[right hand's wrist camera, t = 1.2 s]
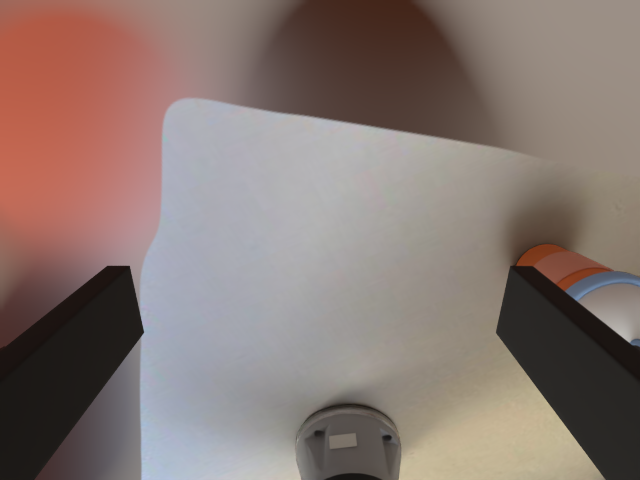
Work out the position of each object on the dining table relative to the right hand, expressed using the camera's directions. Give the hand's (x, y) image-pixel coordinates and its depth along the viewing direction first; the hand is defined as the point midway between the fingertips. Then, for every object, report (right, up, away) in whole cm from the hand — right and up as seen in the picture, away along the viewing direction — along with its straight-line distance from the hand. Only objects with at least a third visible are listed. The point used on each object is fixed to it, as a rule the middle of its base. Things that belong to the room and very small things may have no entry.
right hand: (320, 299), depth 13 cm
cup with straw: (+26, -1, +30) cm, 39 cm away
